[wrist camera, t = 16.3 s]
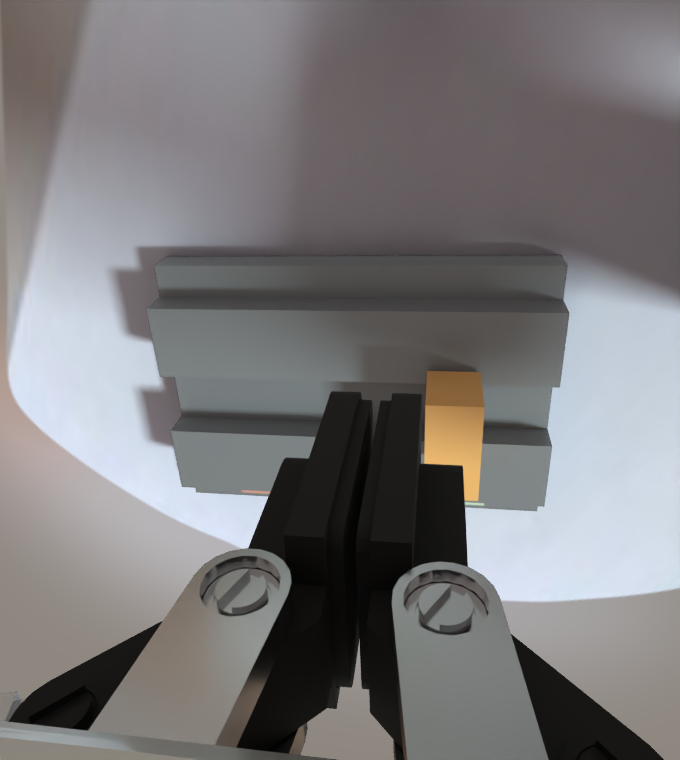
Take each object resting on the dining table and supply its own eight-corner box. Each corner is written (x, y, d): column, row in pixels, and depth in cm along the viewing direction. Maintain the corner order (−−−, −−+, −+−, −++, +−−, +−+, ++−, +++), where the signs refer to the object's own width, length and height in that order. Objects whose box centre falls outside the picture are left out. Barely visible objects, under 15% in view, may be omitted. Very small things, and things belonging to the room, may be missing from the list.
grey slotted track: (561, 255, 36) (574, 277, 33) (533, 492, 44) (541, 531, 40) (166, 256, 40) (139, 276, 36) (205, 475, 48) (186, 509, 44)
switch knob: (478, 356, 37) (484, 407, 32) (473, 442, 40) (478, 501, 35) (427, 355, 38) (425, 405, 32) (426, 440, 40) (423, 498, 35)
